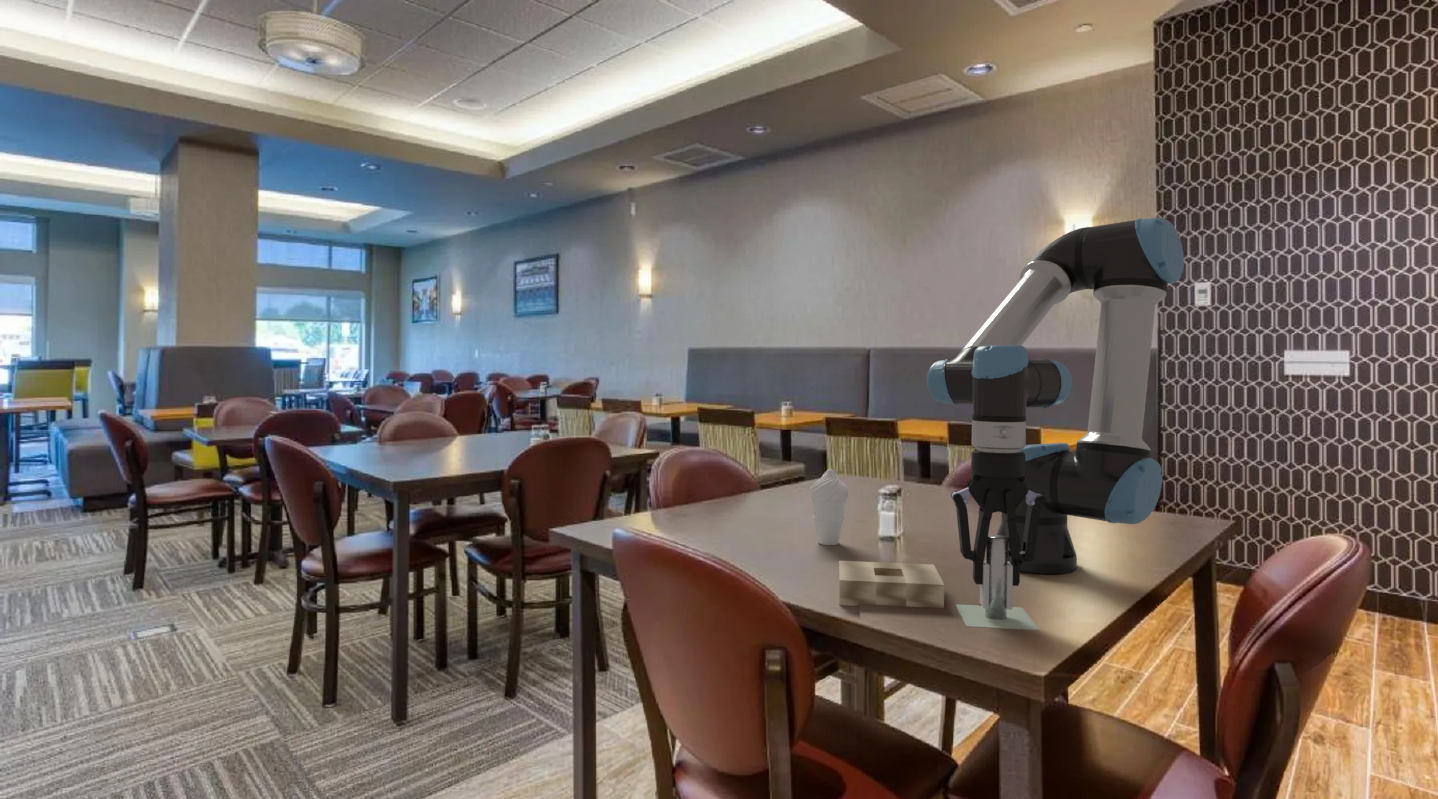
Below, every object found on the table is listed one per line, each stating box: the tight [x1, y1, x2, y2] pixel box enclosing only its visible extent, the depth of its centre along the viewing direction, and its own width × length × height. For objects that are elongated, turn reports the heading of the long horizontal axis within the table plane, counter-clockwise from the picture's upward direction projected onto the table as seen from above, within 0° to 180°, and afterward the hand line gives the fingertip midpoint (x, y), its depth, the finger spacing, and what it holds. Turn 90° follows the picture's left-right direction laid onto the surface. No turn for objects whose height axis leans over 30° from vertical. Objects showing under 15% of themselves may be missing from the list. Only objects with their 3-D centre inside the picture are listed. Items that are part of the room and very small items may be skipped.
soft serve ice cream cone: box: [808, 468, 849, 546], centre depth 159 cm, size 8×8×16 cm
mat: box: [954, 603, 1040, 631], centre depth 111 cm, size 10×10×1 cm
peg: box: [985, 534, 1008, 620], centre depth 111 cm, size 3×3×12 cm
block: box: [838, 560, 945, 609], centre depth 122 cm, size 16×12×4 cm
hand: (995, 605), depth 111 cm, fingers closed on peg, 3 cm apart
